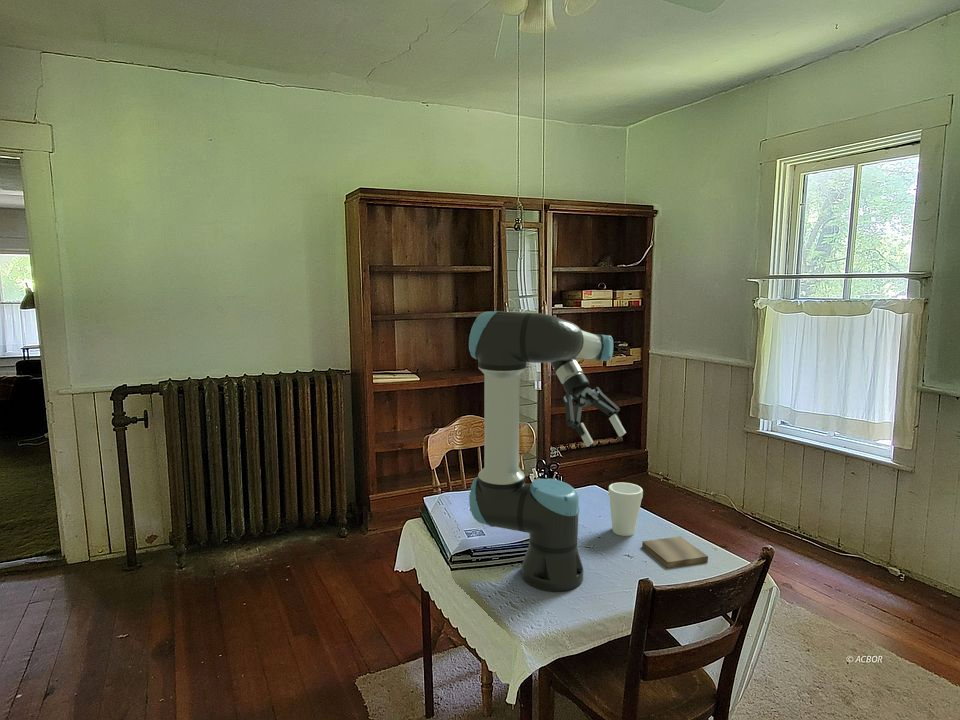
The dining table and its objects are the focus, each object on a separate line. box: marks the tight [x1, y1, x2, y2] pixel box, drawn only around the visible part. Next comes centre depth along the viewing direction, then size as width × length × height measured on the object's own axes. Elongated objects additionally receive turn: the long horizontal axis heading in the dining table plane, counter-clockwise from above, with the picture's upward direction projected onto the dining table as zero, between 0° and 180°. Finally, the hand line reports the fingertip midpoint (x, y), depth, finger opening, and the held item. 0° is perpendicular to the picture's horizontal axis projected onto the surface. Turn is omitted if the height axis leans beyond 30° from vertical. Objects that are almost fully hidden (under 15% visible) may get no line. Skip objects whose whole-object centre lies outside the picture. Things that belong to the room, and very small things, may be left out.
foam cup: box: [608, 481, 644, 537], centre depth 173 cm, size 10×9×13 cm
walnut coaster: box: [641, 536, 709, 569], centre depth 160 cm, size 12×12×2 cm
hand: (606, 439), depth 176 cm, fingers open, 13 cm apart
